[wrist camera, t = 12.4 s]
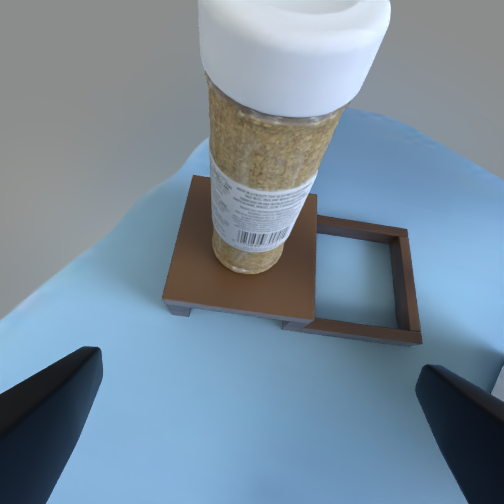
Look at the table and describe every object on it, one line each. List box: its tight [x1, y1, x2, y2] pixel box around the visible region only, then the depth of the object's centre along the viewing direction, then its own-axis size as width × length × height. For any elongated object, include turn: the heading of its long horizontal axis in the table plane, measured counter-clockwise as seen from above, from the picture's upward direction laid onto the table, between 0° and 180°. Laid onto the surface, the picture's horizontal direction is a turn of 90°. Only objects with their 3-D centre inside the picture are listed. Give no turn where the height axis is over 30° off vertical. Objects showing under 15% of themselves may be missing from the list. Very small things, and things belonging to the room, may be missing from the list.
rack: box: [162, 175, 423, 347], centre depth 21 cm, size 9×17×4 cm, turn 83°
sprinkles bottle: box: [198, 0, 391, 274], centre depth 13 cm, size 5×5×14 cm
